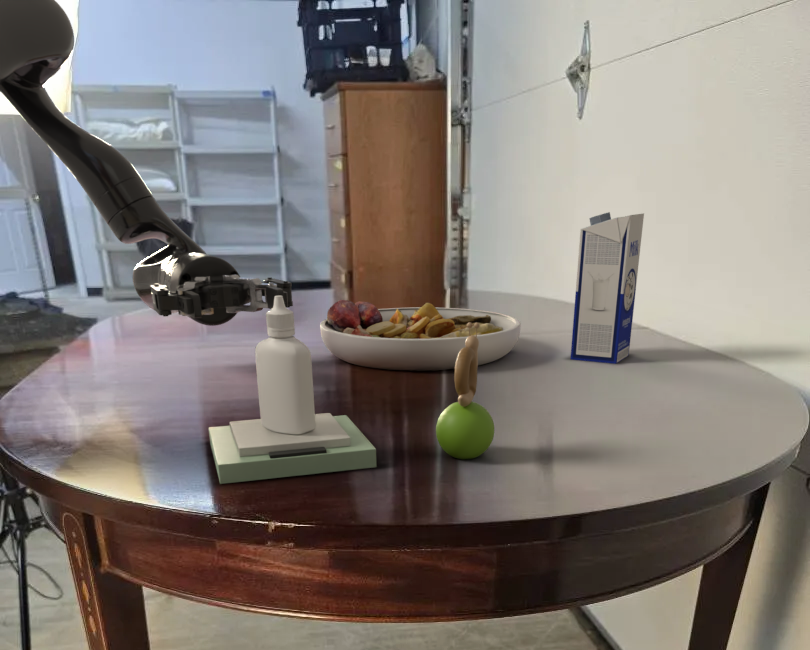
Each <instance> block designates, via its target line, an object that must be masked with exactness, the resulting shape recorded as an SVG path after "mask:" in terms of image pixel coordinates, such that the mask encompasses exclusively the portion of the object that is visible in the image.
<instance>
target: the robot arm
mask: <svg viewBox="0 0 810 650" xmlns="http://www.w3.org/2000/svg"><path fill="white" fill-rule="evenodd" d="M74 48H75V33H74V28H73V26H72V23H71V20H70V18H69V17H68V15H67V13H66V11H65V10H64V9H63V7H62V6H61V5H60V4H59V2H57V1H56V0H0V93H1V95H2V96H3V97H4V98H5V99H6V100H7V101H8V103H9V104H10V105H11V106H12V107H13V108H14V110H16V112H17V113H18V114H19V115H20V116H21V118H22V119H23V120H24V121H25V123H27V125H29V127H30V128H31V129H32V130H33V131H34V132H35V134H36V135H38V137H39V138H40V139H41V140H42V141H43V142H44V144H46V146H48V148H49V149H50V150H51V151H52V152H53V153H54V155H56V157H57V158H58V159H59V160H60V161H61V162H62V164H63V165H64V166H65V167H66V168H67V169H68V171H69V172H70V173H71V174H72V175H73V177H74V178H75V179H76V181H77V182H78V184H79V185H80V186H81V188H82V189H83V190H84V193H86V194H87V196H88V197H89V199H90V201H91V202H92V204H93V205H94V206H95V208H96V209H97V211H98V213H99V214H100V216H101V217H102V218H103V220H104V221H105V224H107V226H108V227H109V229H110V230H111V232H112V233H113V235H114V236H115V238H116V239H117V240H118V241H119V242H121V244H125V245H131V244H136V243H140V242H143V241H146V240H152V239H156V240H159V241H161V242H162V243H163V242H164V243H165V244H166V245H167V246H164V247H163V248H161V249H159V250H158V251H156V252H154V253H152V254H151V255H150V256H147V257H146V258H144V259H143V260H141V261H140V262H139V263H137V264H136V266H135V267H134V268H133V271H132V284H133V288H134V290H135V292H136V294H137V295H138V297H139V298H140V300H141V301H142V302H143V303H144V304H145V305H146V306H147V307H149V308H150V309H152V310H153V311H155V313H157V314H158V316H163V317H169V316H171V315H172V314H176V313H177V314H178V315H179V316H182V317H187V318H189V319H191V320H192V321H195V322H196V323H197V324H200V325H204V326H209V327H210V326H211V327H213V326H215V327H216V326H220V325H221V326H222V325H223V324H226V323H228V322H229V321H231V320H232V319H233V318H235V317H236V316H237V314H238V313H241V312H245V313H246V312H247V313H256V312H260V311H263V309H269V310H271V309H272V308H273V305H274V296H283V300H284V304H285V307H286V308H287V309H288V308H290V307H293V306H294V302H293V291H292V285H293V284H292V282H291V281H288V280H282V279H278V278H273V277H267V278H263V279H264V280H263V282H262V280H261V279H260V278H259V277H243V276H241V275H240V274H239V272H238V271H237V270H236V268H235V267H234V266H233V265H232V264H231V263H230V262H228V261H227V260H225V259H223V258H221V257H218V256H214V255H211V254H207V253H206V251H205V250H204V249H203V248H202V246H200V245H199V244H198V243H197V242H196V241H195V240H194V239H193V238H191V237H190V236H189V235H188V234H187V233H186V232H184V231H183V229H181V227H179V226H178V225H177V223H175V222H174V221H173V220H172V219H171V217H170V216H169V215H168V214H167V212H165V211H164V209H163V208H162V207H161V205H160V204H159V203H158V201H157V200H156V198H155V197H154V195H153V194H152V192H151V191H150V189H149V188H148V186H147V185H146V183H145V181H144V180H143V178H142V177H141V175H140V173H139V172H138V171H137V169H136V168H135V167H134V165H133V164H132V163H131V162H130V160H129V159H128V158H127V157H125V155H124V154H123V153H122V152H121V151H119V150H118V149H117V148H115V146H113V145H112V144H109V143H108V142H106V141H104V140H103V139H101V138H99V137H98V136H96V135H94V134H92V133H90V132H88V131H87V130H85V129H83V128H82V127H80V126H79V125H77V124H76V123H75V122H73V121H72V120H71V119H69V118H68V117H67V116H66V115H65V114H64V113H63V112H62V111H61V110H60V109H59V108H58V107H57V105H56V104H55V103H54V101H53V100H52V98H51V97H50V95H49V94H48V91H47V89H46V87H45V85H46V84H47V83H49V82H50V80H51V79H52V78H53V77H54V76H55V75H56V74H57V73H58V72H59V71H60V70H61V68H62V67H63V66H64V65H65V64H66V63H67V62H68V60H69V59H70V57H71V55H72V53H73V51H74ZM263 297H264V299H265V301H264V300H263Z"/></svg>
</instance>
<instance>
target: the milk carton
mask: <svg viewBox="0 0 810 650" xmlns="http://www.w3.org/2000/svg"><path fill="white" fill-rule="evenodd" d="M644 219H645V213H636V214H630V215H625V216H618V217H614V218H612V217H611V212H610V211H608V212H604V213H600V214H599V215H595V216H592V217H589V223H590V225H589V226H585V227H582V228H580V231H579V232H580V233H579V242H578V243H579V245H578V256H577V257H578V258H577V271H576V283H575V296H574V309H573V319H572V321H573V323H572V333H571V334H572V335H571V347H570V360H573V361H581V362H582V361H584V362H592V363H604V364H615V365H616V364H618V363H620V362H621V361H622V360H624V359H626V358H627V357H629V355H630V347H631V337H632V329H633V328H632V327H633V318H634V309H635V301H636V291H637V282H638V274H639V273H638V272H639V263H640V255H641V254H640V253H641V244H642V236H643V226H644Z"/></svg>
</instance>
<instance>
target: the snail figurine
mask: <svg viewBox="0 0 810 650" xmlns="http://www.w3.org/2000/svg"><path fill="white" fill-rule="evenodd" d="M472 326H473V324H472V323H471V322H469V323H467V327H468V328H469V337H468V338H467V339H466V342H465V346H466V347H464V348H462V349H461V350H460V352H459V354H458V357H457V360H456V363H455V369H454V372H453V373H454V374H453V375H454V376H453V380H454V388H455V392H456V394H457V396H458V397H457V401H456V402H452V403H451V404H449V405H448V406H447V407H446V408H445V409H443V410H442V412H441V413H440V415H439V417H438V419H437V422H436V425H435V436H436V439H437V442H438V444H439V446H440V447H441V449H442V450H443V451H444V452H445V453H446V454H447V455H449V456H450V457H452V458H455V459H457V460H473V459H475V458H478V457H480V456H482V455H483V454H485V452H486V451H487V450H488V449H489V447H490V446H491V445H492V442H493V440H494V437H495V423H494V420H493V417H492V415H491V414H490V412H489V411H488V410H487V408H485V407H484V406H483V405H481V404H479V403H478V402H475V401H473V400H474V397H475V395H476V392H477V387H478V366H479V365H478V346H479V340H478V338H477V328H479V327H480V324H479V323H477V322H476V323H475V324H474V327H475V328H476V336H474V335H471V336H470V328H472Z"/></svg>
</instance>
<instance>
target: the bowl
mask: <svg viewBox="0 0 810 650" xmlns="http://www.w3.org/2000/svg"><path fill="white" fill-rule="evenodd" d="M469 322H471V323H472V324H473V326H472V328H470V336H471V335H474V336H476V328H475V327H474V324H475V323H476V322H477V323H479V324H480V327H479V328H477V338H478V340H479V346H478V366H481V365H486V364H490V363H492V362H494V361H497V360H499V359H502V358H503V357H505V356H506V355H507V354H509V353H510V352H511V351H512V350H513V349H514V348H515V346H516V345H517V343H518V341H519V338H520V335H521V324H522V323H521V321H520V319H518V318H516V317H515V316H512V315H508V314H505V313H500V312H495V311H490V310H489V311H488V310H480V309H473V308H457V307H435V306H434V305H433V304H432V303H430V302H425V304H423V305H422V306H421V307H420V306H419V307H392V308H377V306H376V305H374V304H373V303H371V302H369V301H362V300H361V301H357V302H355V303H354V302H353V301H351V300H347V299H340V300H338V301H336V302H334V303H333V304H332V305H331V306H330V307H329V308H328V309H327V313H326V318H324V319H323V320H322V321H321V322H320V324H319V329H320V336H321V340H322V342H323V345H324V346H325V348H326V349H327V350H328V351H329V352H330V354H332V355H333V356H335V357H336V358H338V359H339V360H341V361H344V362H346V363H349V364H353V365H354V366H355V365H356V366H360V367H365V368H372V369H378V370H379V369H380V370H390V371H391V370H392V371H412V372H413V371H416V372H417V371H418V372H419V371H421V372H422V371H425V372H426V371H445V370H446V371H447V370H455V363H456V360H457V357H458V354H459V352H460V350H461V349H462V348H464V347H466V346H465V342H466V339H467V338H468V337H469V328H468V327H467V323H469Z"/></svg>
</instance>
